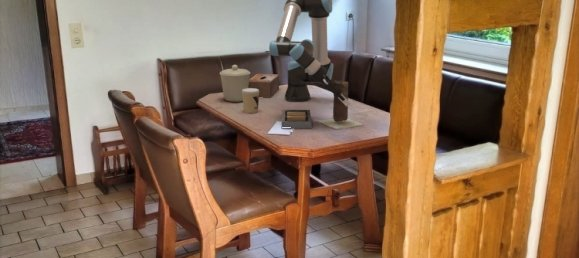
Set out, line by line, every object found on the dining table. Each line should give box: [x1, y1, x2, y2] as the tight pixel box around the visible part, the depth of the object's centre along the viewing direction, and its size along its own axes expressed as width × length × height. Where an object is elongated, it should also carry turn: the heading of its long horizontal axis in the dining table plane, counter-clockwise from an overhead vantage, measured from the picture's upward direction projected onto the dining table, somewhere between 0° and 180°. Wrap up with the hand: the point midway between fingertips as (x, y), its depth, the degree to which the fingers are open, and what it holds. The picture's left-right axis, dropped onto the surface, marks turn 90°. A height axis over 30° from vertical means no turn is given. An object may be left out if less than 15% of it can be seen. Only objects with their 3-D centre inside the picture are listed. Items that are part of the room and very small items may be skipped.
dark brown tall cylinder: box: [332, 80, 349, 122], centre depth 278 cm, size 8×7×20 cm
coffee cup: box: [242, 88, 260, 114], centre depth 304 cm, size 9×9×12 cm
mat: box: [318, 118, 364, 131], centre depth 282 cm, size 16×16×1 cm
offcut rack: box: [281, 109, 312, 130], centre depth 284 cm, size 24×14×4 cm, turn 0°
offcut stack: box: [287, 112, 306, 121], centre depth 278 cm, size 4×9×6 cm, turn 90°
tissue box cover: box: [248, 73, 280, 99], centre depth 349 cm, size 26×14×10 cm, turn 169°
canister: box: [219, 64, 251, 103], centre depth 329 cm, size 18×18×21 cm
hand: (347, 102), depth 279 cm, fingers closed on dark brown tall cylinder, 7 cm apart
